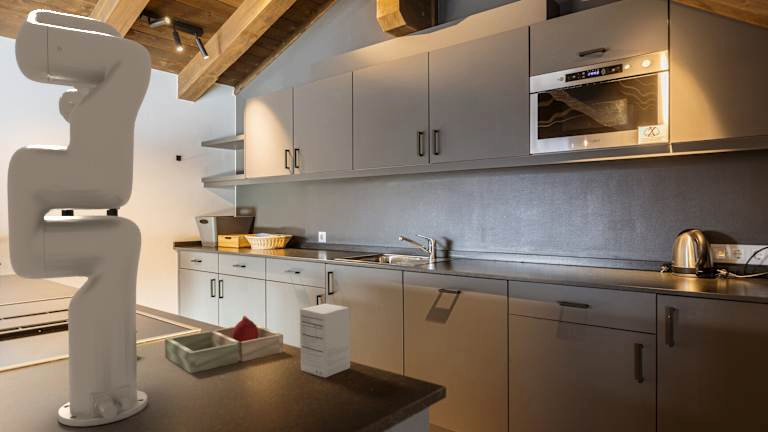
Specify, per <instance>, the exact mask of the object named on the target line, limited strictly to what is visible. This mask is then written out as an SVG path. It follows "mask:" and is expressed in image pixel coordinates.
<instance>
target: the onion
mask: <svg viewBox="0 0 768 432" xmlns="http://www.w3.org/2000/svg"><path fill="white" fill-rule="evenodd" d="M256 325H257V324H255V323H254V322H253V321H252V320H250V319H249V318H248V317H247V316H246V315H243V316H242V319H241V320H240V321H238V323H236V324H235V326H234V327H235V328H234V330H233V339H234V340H237V341H239V342H242V341H247V340H252V339H257V338H258V336H259V332H258V328H257V326H256Z"/></svg>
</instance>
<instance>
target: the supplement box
mask: <svg viewBox="0 0 768 432" xmlns="http://www.w3.org/2000/svg"><path fill="white" fill-rule="evenodd" d="M299 321H300V322H299V328H300V331H299V332H300V333H299V335H300V336H299V338H300V370H301V371H302V372H306V373H307V374H312V375H315V376H317V377H321V378H325V379H326V378H328V377H330V376H333V375H336V374H338V373H341V372H343V371H346V370H349V369H351V340H350V339H351V338H350V337H351V334H350V330H351V329H350V328H351V323H350V307H348V306H343V305H336V304H330V303H322V304H317V305H313V306H309V307H304V308H299Z"/></svg>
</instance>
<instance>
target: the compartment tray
mask: <svg viewBox="0 0 768 432" xmlns="http://www.w3.org/2000/svg"><path fill="white" fill-rule="evenodd" d="M255 325H256V326H257V328H258V332H259V336H258V338H257V339H252V340H247V341H242V342H239V341H237V340H234V339H233V330H234V328H235V326H229V327H224V328H218V329H213V330H212V331H210V330H208V331H201V332H196V333H189V334H184V335H179V336H174V337H168V338H164V358H166V359H168V360H170V361H171V362H173V363H174V364H175V365H177V366H178V367H180V368H182V369H183V370H185V371H186V372H187V373H189V374H195V373H198V372H202V371H206V370H212V369H216V368H220V367H224V366H229V365H232V364H237V363H239V362H240V361H241V362H246V361H247V362H248V361H252V360H254V359H255V360H256V359H259V358H263V357H269V356H272V355H276V354H282V353H284V334H282V333H280V332H277V331H274V330H271V329H269V328H266V327H264V326H261V325H258V324H255Z"/></svg>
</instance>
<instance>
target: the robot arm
mask: <svg viewBox="0 0 768 432" xmlns="http://www.w3.org/2000/svg"><path fill="white" fill-rule="evenodd" d="M14 44H15V45H14V48H15V49H14V53H15V60H16V64H17V66H18V68H19V70H20V72H21V73H22V75H23V76H24V77H25V78H26V79H28V80H29V81H31V82H32V81H33V82H36V83H40V84H49V85H57V86H64V87H73V88H74V89H68V90H65V91H64V92H63V93H62V94H61V96H60V97H59V99H58V110H59V114H60V116H61V117H63V119H64V120H65V121H66V122H67V124H69V144H68V145H67V144H65V145H64V146H61V145H60V146H59V145H57V146H56V145H43V144H42V145H41V144H36V145H35V144H33V145H26V146H22V147H20V148H18V149H17V150H16V151H15V152H14V153H13V154H12V156H11V157H10V160H9V163H8V168H7V184H6V185H7V187H6V188H7V191H6V192H7V194H6V195H7V218H8V219H7V221H8V223H7V224H8V245H9V246H8V250H9V260H10V265H11V268H12V270H13V272H14V273H15V275H17V276H18V277H20V278H22V279H28V280H41V279H43V280H45V279H60V278H74V277H80V278H82V277H85V278H87V280H86V281H85V282H84V284H82V286H81V287H80V288H78V290H77V291H76V292H75V293H74V295H73V296H72V298H71V299H70V301H69V303H68V309H67V313H68V314H67V317H68V318H67V321H68V322H67V323H68V324H67V326H68V330H67V331H68V333H67V334H68V380H69V381H68V385H69V386H68V387H69V388H68V392H69V393H68V394H69V396H68V397H69V401H68V402H67V403H65V404H63V405H62V406H61V407H60V408H59V409H58V410H57V420H58V422H59V423H61V424H63V425H65V426H69V427H92V426H93V427H94V426H100V425H101V426H102V425H106V424H110V423H113V422H118V421H121V420H124V419H127V418H130V417H132V416H134V415H136V414H137V413H139V412H141V411H142V410H144V409H145V407H146V406H147V405H148V402H149V399H148V395H147V394H146V392H144V391H142V390H139V389H138V364H137V363H138V361H137V357H138V355H137V354H138V353H137V352H138V351H137V350H138V348H137V347H138V345H137V344H138V343H137V341H138V340H137V334H136V330H137V281H138V280H137V279H138V268H139V261H140V256H141V250H142V234H141V230H140V228H139V225H137V224H136V223H135V222H134V221H133V220H132V219H129V218H127V217H124V216H119V215H118V214H119V213H118V212H119V210H120V209H121V207H124V206H126V205H127V204H128V202H129V201H130V199H131V196H132V192H133V184H134V183H133V182H134V151H135V149H134V146H135V127H136V119H137V118H138V117H137V116H138V114H139V111H140V109H141V107H142V103H144V100H145V96H146V95H147V92H148V89H149V87H150V86H149V85H150V81H151V75H152V58H151V55H150V52H149V51H148V49H147V48H146V47H145V46H144V45H142V44H141V43H139V42H137V41H135V40H132V39H128V38H124V37H123V36H122V34H121V33H120V31H118V30H117V28H116V27H114V26H113V25H111V24H110V23H108V22H105V21H102V20H99V19H95V18H89V17H85V16H80V15H74V14H69V13H68V14H67V13H61V12H56V11H53V10H52V11H51V10H46V9H45V10H44V9H42V10H41V9H37V10H33V11H30V12H29V13H27V14H26V16H25V17H24V18H23V19H22V21H21V23H20V26H19V28H18V31H17V34H16V38H15V43H14ZM57 210H58V211H59V210H61V215H59V216H55V215H53V216H50V215H49V216H47V215H48V213H50V212H52V211H57ZM74 210H77V211H78V210H80V211H81V210H84V211H85V210H90V211H91V210H106V214H105V215H75V214H74V213H75V211H74Z"/></svg>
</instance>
